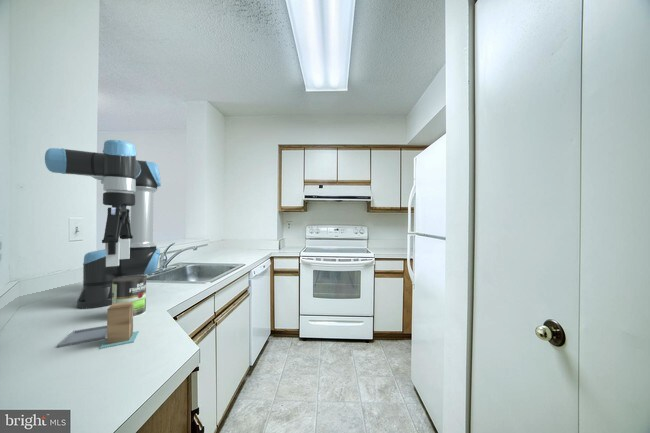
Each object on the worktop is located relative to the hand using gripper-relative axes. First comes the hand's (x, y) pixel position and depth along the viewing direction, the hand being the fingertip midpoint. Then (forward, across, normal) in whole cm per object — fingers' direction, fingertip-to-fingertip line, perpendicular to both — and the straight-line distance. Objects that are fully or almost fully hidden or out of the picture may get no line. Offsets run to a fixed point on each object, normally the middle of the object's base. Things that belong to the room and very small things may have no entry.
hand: (118, 262), depth 73 cm
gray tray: (+23, -6, -8) cm, 25 cm away
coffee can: (+24, -22, -1) cm, 32 cm away
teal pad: (+23, +2, +1) cm, 23 cm away
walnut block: (+22, +2, +1) cm, 23 cm away
